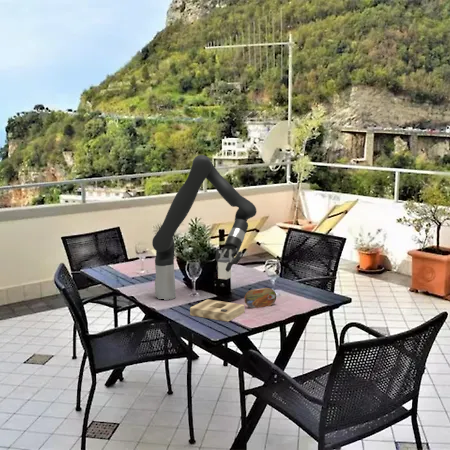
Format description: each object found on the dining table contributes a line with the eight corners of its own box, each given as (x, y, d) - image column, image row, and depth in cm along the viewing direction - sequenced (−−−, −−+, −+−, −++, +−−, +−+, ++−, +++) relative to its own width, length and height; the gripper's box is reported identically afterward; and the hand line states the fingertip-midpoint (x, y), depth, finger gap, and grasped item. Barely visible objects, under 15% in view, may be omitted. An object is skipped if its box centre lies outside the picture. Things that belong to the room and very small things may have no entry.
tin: (246, 309, 257) (245, 291, 255) (243, 307, 260) (243, 289, 258) (276, 305, 261) (276, 287, 260) (274, 303, 264) (273, 286, 263)
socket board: (190, 315, 251) (189, 306, 251) (207, 306, 263) (207, 298, 262) (228, 321, 241) (227, 312, 240) (244, 312, 252) (244, 303, 252)
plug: (218, 278, 259) (217, 259, 258) (223, 276, 263) (222, 257, 261) (226, 279, 257) (225, 260, 255) (231, 277, 261) (230, 258, 259)
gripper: (219, 234, 267) (205, 264, 259) (245, 236, 259) (232, 267, 251) (225, 242, 272) (212, 272, 264) (251, 245, 265) (238, 276, 256)
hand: (222, 270), depth 258 cm, fingers closed on plug, 4 cm apart
